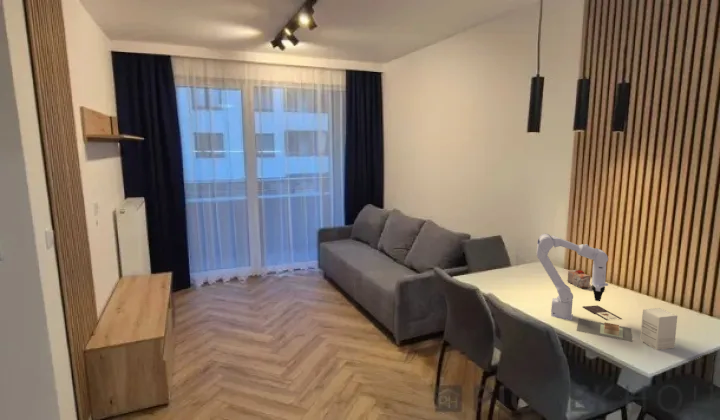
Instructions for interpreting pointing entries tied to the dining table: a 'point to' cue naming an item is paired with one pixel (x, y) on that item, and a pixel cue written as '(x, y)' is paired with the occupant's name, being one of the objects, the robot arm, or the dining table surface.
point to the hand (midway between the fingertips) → (597, 300)
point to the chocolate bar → (601, 312)
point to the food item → (578, 278)
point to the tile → (611, 329)
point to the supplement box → (658, 328)
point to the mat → (598, 329)
